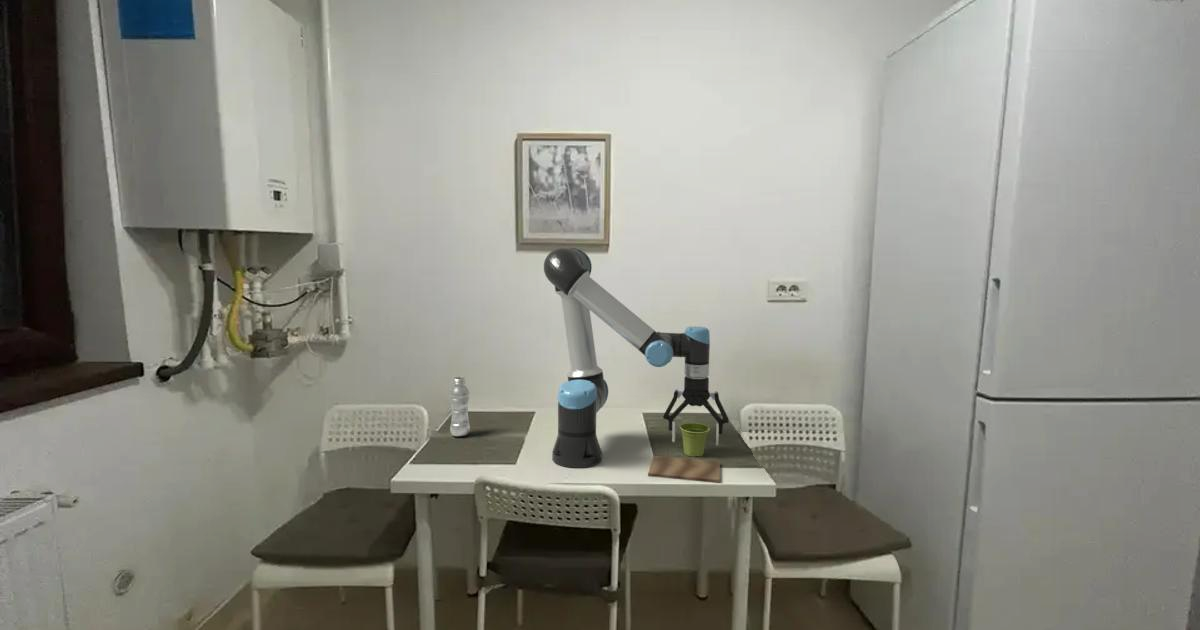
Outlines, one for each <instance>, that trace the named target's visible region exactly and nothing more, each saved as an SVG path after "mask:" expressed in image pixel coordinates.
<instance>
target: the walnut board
mask: <svg viewBox="0 0 1200 630" xmlns="http://www.w3.org/2000/svg"><path fill="white" fill-rule="evenodd" d="M720 465H721V463H720V461H717V460H705V459H694V458H683V457H671V456H663V455H662V456H661V455H653V456H652V460H651V462H650V466H649V469H648V471H647V476H648V477H653V478H666V479H673V480H674V479H677V480H686V481H696V482H704V483H705V482H708V483H716V484H720V475H721V474H720V472H721V471H720V470H721V469H720Z"/></svg>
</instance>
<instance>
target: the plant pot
mask: <svg viewBox="0 0 1200 630" xmlns="http://www.w3.org/2000/svg"><path fill="white" fill-rule="evenodd" d="M679 430H680V432H681V436H682V445H683V453H684V455H686V456H689V457H692V458H693V457H694V458H695V457H702V456H703V455H704V452H705V447H706V441H707V437H708V434H709V432H710V426H709V425H707V424H704V423H699V422H686V423H681V424H680V425H679Z"/></svg>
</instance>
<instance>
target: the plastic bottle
mask: <svg viewBox="0 0 1200 630" xmlns="http://www.w3.org/2000/svg"><path fill="white" fill-rule="evenodd" d="M465 379H466V378H465V376H464V377H463V376H457V377H454V378H453V384H454V385H453V387H452V388H451V390H450V392H449V398H450V399H449V400H450V406H451V422H450V428H449V430H450V434H451V435H452V436H453V437H463V436H467V435H468V434H469V432H470V429H471V426H470V425H471V424H470V421H469V413H468V409H469V399H470V392H469V389H468V387H467V386H466V380H465Z"/></svg>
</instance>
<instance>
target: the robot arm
mask: <svg viewBox="0 0 1200 630" xmlns="http://www.w3.org/2000/svg"><path fill="white" fill-rule="evenodd" d="M543 262H544V263H543V273H544V275H545V278H546V279H547V280H548V281H549V282H550V283H551V284H552V285H553V286H554V290H555V293H556V294H557V295H558V296H560V299H561V305H562V313H563V321H564V327H565V334H566V335H565V336H566V340H567V348H568V356H569V361H570V362H569V363H570V370H569V372H568V374H567V381H565V382H564V383H562V384H561V385H560V386H559V388H558V393H557V435H556V439H555V442H554V446H553V449H552V451H551V456H552V457H551V458H552V462H553V463H555V464H556V465H559V466H562V467H565V468H566V467H567V468H587V467H588V468H589V467H591V466H594V465H597V464H599V463H600V462H601V460H602V448H601V446H600V443H599V440H598V436H597V413H598V412H599V411H600V410H601V408H603V407H604V405H605V404H606V402H607V400H608V397H609V386H608V383H607V382H606V380H605V379H604V378H605V377H604V373H603V372H604V371H603V369H602V368H601V367H600V366H598V362H597V355H596V348H595V347H596V346H595V340H594V333H593V324H592V318H591V317H592V316H591V313H592V314H594V315H595V316H596V317H598V318H599V319H600V320H601V321H603V322H604V323H605V324H606V325H607V326H609V327H610V328H611V329H612V330H613V331H615V332H616V333H617V334H619V336H621V338H623V339H624V340H626V342H628V343H629V344H631V346H633V347H634V348H635V349H636V350H637V351H639V352H640V353H641V355H642V354H643V356H644V357H645V358H646V359H645V360H646V361H647V362H648V364H649V365H651V366H653V367H656V368H661V367H665V366H666V365H668V364H669V363H670V362H671V361H672V359H673V358H684V375H685V376H684V380H683V381H684V385H683V386H684V387H683V391H681V390H678V389H674V393H673V397H672V399H671V401H670V402H669V405H668V407H667V408H666V410H665V412H664V414H663V416H662V417H663V419H664V420H667V421H668V431H670V432H671V436H672V437H671V438H672V439H671V442H672V443H675V442H676V417H678V415H679V414H681V413H682V411H683V410H684V409H685V408H686V407H687V406H688V405H689V406H690V407H695V406H696V407H702V406H703V407H704V408H705V409H706V410H707V411H708V412H709V413H710V415H711V417H713V418H714V419H715V421H716V424H715V425H716V430H715V431H716V433H715V446H719V437H720V435H722V434H723V428H724V427H723V426H724V424H727V423H729V421H730V420H729V419H730V418H729V417H728V414H727V412H726V410H725V407H724V406H723V404H722V402H721V400H720V396H719V395H720V394H719V391H715V392H710V391H709V388H710V387H709V386H710V385H709V384H710V382H709V380H710V378H709V376H710V350H711V349H710V345H711V344H710V343H711V342H710V340H711V339H710V337H711V336H710V330H709V329H708V327H704V326H696V325H695V326H687V327H686V328H685V331H684V332H681V333H680V332H679V333H677V332H661V331H656V330H655V329H654V328H652V327H651V326H650V325H649V324H647V323H646V322H645V321H644V320H642V318H640V317H639V316H637V314H635V313H634V312H633V311H632V310H630V309H629V308H628V307H627V306H626V305H625V304H623V303H622V302H621V301H620V300H618V298H616V297H615V296H613V295H612V294H611V293H610V292H609V291H608V290H607V289H605V288H604V287H603V286H601V285H600V284H599V283H598V282H596V281H595V280H594V279H593V278H592V277H591V274H592V270H593V269H592V267H593V266H592V260H591V259H590V257H589V255H588V254H587V253H586V252H585V251H583V250H581V249H579V248H576V247H559V248H555V249H553V250H552V251H550V252H549V253H548V255H547V256H546V257H545V259H544V261H543ZM680 397H683V399H684V401H682V402H681V403H680V405H679V406H678V407H677V408H676V409H675V410H674V411H673V412H672V413H671V411H672V410H673V408H674V406H675V404H676V402H677V400H678V399H679V398H680ZM710 398H711V399H712V400H713V401H715V402H714V403H715V404H716V406H717V408H718V410H719V413H720V414H718V412H717V411H716V410H715V409H714V407H713V406H712V405H711V404H710V402H709V401H708V400H709V399H710ZM670 413H671V415H670ZM720 415H721V416H720Z"/></svg>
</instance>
